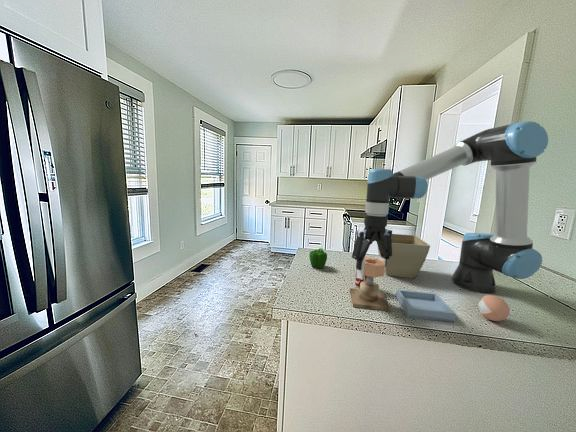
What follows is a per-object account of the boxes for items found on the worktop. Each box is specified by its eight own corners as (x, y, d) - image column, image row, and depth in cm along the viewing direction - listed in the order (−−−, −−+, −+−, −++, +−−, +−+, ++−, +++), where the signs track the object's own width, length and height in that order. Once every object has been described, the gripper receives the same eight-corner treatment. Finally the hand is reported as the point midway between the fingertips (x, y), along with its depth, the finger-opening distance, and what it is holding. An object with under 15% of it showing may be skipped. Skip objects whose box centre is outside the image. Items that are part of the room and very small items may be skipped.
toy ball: (477, 310, 85) (481, 288, 84) (506, 318, 80) (511, 296, 79) (475, 319, 79) (479, 296, 78) (507, 329, 74) (512, 305, 73)
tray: (435, 300, 91) (436, 293, 90) (454, 322, 77) (455, 313, 76) (395, 296, 93) (396, 289, 92) (407, 316, 79) (408, 308, 79)
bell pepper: (306, 264, 123) (307, 245, 122) (321, 263, 126) (322, 244, 124) (313, 270, 116) (314, 250, 114) (328, 269, 118) (330, 249, 116)
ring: (372, 266, 93) (373, 256, 92) (388, 275, 85) (389, 264, 84) (353, 269, 90) (354, 258, 89) (369, 278, 82) (370, 266, 81)
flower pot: (426, 282, 107) (431, 245, 104) (381, 278, 110) (385, 242, 107) (411, 267, 126) (415, 235, 123) (373, 263, 128) (376, 232, 126)
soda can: (368, 289, 97) (371, 261, 96) (355, 288, 98) (357, 259, 97) (367, 284, 103) (369, 257, 101) (354, 282, 104) (356, 255, 102)
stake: (381, 294, 94) (384, 264, 92) (389, 310, 82) (393, 277, 80) (349, 291, 96) (352, 261, 94) (352, 306, 84) (355, 273, 82)
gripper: (392, 212, 91) (386, 269, 95) (343, 213, 84) (339, 275, 87) (408, 215, 84) (401, 277, 88) (357, 217, 77) (352, 284, 80)
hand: (370, 276), depth 88 cm, fingers closed on ring, 8 cm apart
